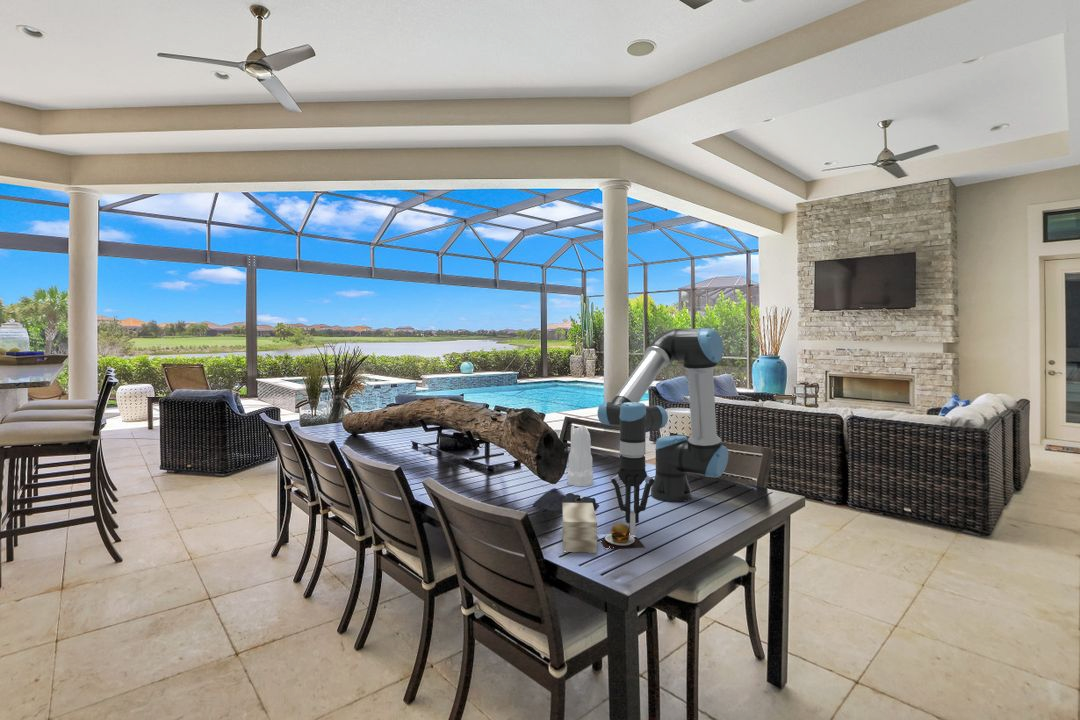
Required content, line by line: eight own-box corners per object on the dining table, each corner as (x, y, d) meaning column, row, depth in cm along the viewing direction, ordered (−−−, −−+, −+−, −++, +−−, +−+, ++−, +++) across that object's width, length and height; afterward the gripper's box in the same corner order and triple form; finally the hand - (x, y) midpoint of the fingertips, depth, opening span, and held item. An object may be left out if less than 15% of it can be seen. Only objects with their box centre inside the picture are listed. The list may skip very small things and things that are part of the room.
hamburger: (595, 535, 157) (595, 517, 157) (632, 533, 159) (633, 516, 158) (605, 551, 145) (605, 532, 145) (645, 549, 147) (645, 530, 147)
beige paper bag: (592, 530, 160) (592, 502, 160) (597, 552, 143) (597, 522, 143) (562, 530, 160) (562, 502, 160) (563, 552, 143) (563, 521, 143)
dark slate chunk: (552, 496, 196) (552, 484, 196) (603, 508, 183) (603, 495, 183) (528, 507, 183) (529, 494, 183) (581, 520, 171) (581, 506, 170)
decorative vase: (568, 478, 220) (568, 421, 219) (593, 479, 218) (593, 422, 217) (566, 486, 209) (566, 425, 208) (592, 487, 207) (592, 426, 206)
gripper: (651, 452, 154) (651, 528, 155) (609, 452, 154) (608, 528, 155) (657, 457, 146) (656, 538, 147) (612, 457, 147) (611, 538, 147)
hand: (631, 533), depth 151 cm, fingers closed
